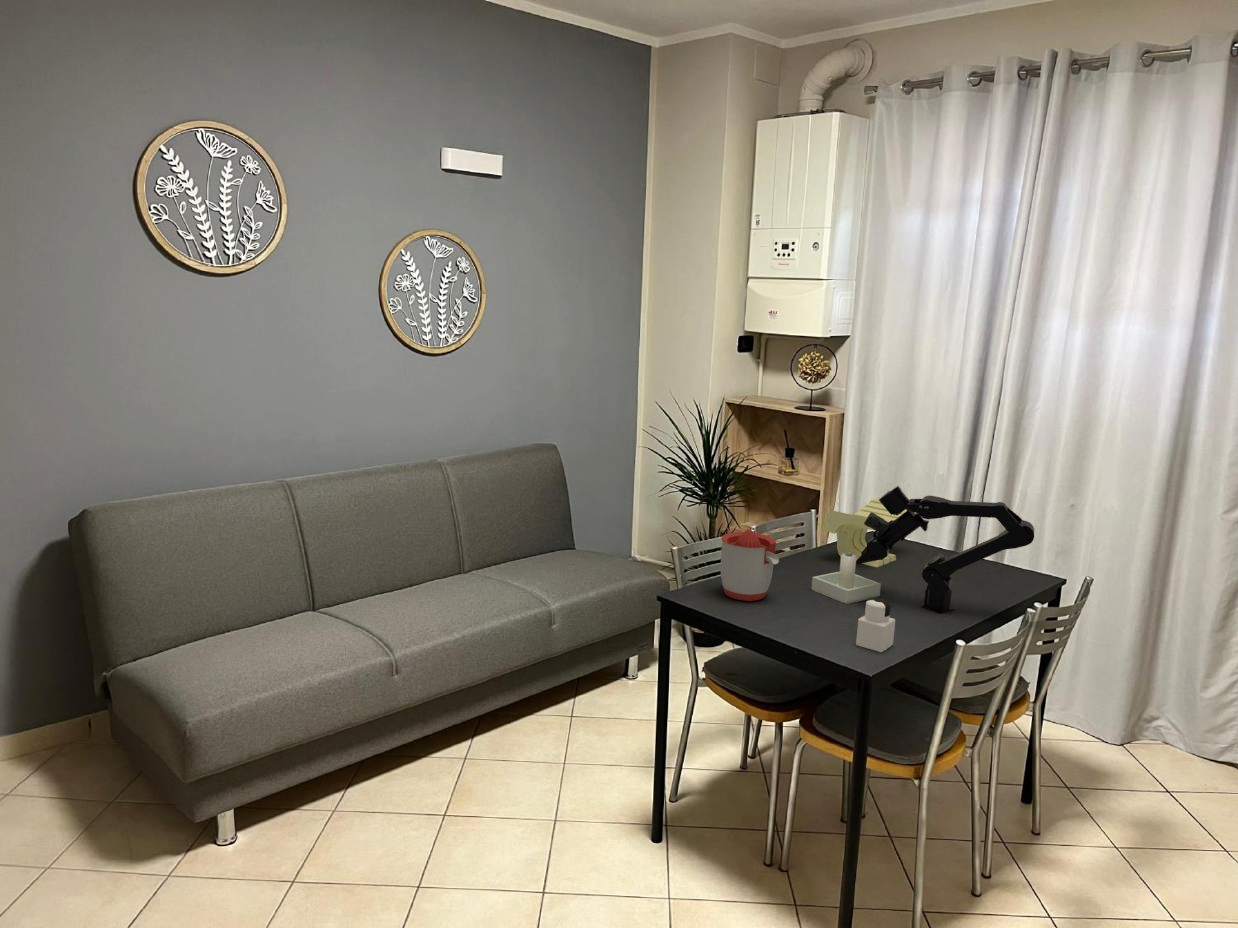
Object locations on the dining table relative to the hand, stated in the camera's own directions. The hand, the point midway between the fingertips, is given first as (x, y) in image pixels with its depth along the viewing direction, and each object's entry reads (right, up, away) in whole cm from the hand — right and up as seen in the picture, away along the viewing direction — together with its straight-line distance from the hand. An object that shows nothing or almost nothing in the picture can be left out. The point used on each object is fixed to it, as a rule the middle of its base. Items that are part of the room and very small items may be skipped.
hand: (859, 558), depth 272 cm
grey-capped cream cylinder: (-3, -10, +3) cm, 11 cm away
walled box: (-3, -11, +3) cm, 12 cm away
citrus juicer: (-33, -11, -2) cm, 35 cm away
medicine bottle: (-5, -19, -36) cm, 41 cm away
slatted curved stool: (+12, -4, +40) cm, 42 cm away
